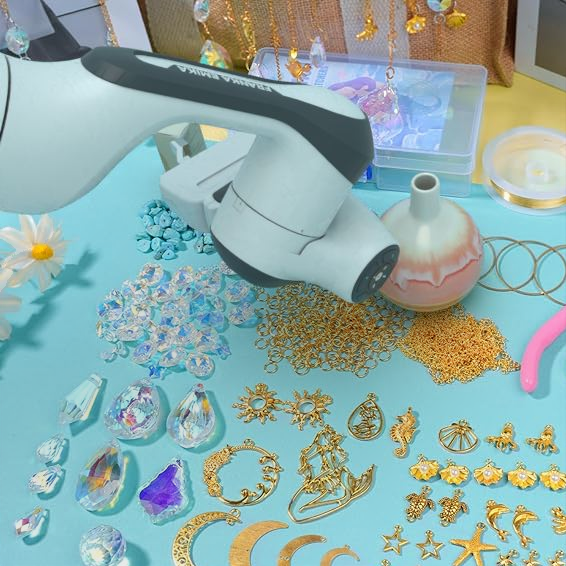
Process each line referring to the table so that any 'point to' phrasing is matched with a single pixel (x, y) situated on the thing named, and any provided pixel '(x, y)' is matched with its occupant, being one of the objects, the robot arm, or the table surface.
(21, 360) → the table surface
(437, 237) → the vase
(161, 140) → the box
